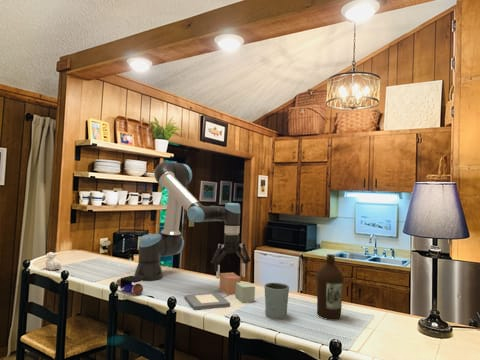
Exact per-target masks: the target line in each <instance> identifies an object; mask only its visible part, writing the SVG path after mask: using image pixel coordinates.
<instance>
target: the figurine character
mask: <svg viewBox="0 0 480 360" xmlns="http://www.w3.org/2000/svg"><path fill="white" fill-rule="evenodd" d="M144 280H146V279H144V278H140V277H136V276H134V275H128V276H124V277H123V276H122V277H120V278H119V279H117V280H116V284H117V283H118V286H119V289H121V290H122V292H131V293H132V294H133V295H134V296H139V295H141V294H142V293H143V291H144V286H143V285H142V284H141V283H140V282H144ZM133 283H134V284H133ZM118 286H117V287H118Z"/></svg>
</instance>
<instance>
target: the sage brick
mask: <svg viewBox="0 0 480 360" xmlns="http://www.w3.org/2000/svg"><path fill="white" fill-rule="evenodd" d="M255 291H256V286H255V285H253V284H252V283H250V282H249V281H240V282H239V283H236V293H235V294H234V295H235V296H234V297H235V299H237V301H239V302H240V303H241V304H246V303H254V302H255V293H256V292H255Z"/></svg>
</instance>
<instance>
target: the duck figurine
mask: <svg viewBox="0 0 480 360" xmlns="http://www.w3.org/2000/svg"><path fill="white" fill-rule="evenodd" d="M45 255H46V258H47V259H46V261H45V267H46V269H47V270H48V269H49V271H54V270H55V269H60V270H62V269H61V268H62V264H61V261H59V260H58V259H57V258H56V257H57V254H56V253H54V252H52V251H49V252H48V253H46V254H45ZM55 271H56V270H55Z"/></svg>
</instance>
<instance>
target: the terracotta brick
mask: <svg viewBox="0 0 480 360" xmlns="http://www.w3.org/2000/svg"><path fill="white" fill-rule="evenodd" d="M241 277H242V276H239V275H238V274H236V273H235V272H220V274H219V288H218V289H219V290H220V291H221V292H222V293H223V294H225V295H226V296H230V295H235V293H236V283H239V282H241Z"/></svg>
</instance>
